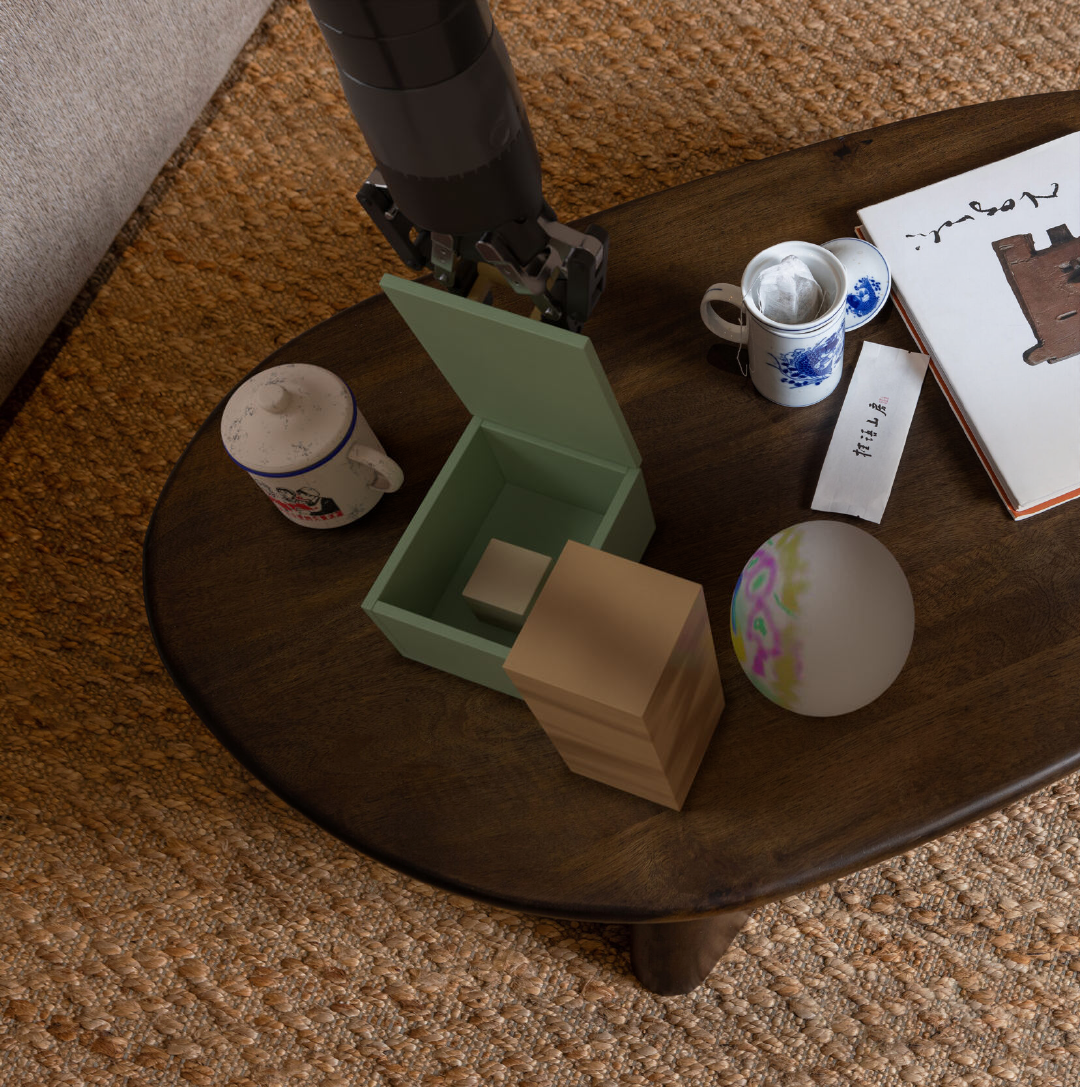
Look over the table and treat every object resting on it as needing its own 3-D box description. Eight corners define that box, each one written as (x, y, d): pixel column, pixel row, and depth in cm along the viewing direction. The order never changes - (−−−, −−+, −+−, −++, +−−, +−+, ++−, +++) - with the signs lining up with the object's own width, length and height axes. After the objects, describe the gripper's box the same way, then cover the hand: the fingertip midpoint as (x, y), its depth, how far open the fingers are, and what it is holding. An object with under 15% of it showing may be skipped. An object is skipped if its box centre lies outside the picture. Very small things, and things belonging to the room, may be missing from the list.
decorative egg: (738, 573, 86) (726, 470, 73) (905, 575, 87) (923, 473, 73) (731, 735, 81) (716, 656, 67) (909, 737, 81) (929, 658, 68)
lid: (583, 349, 64) (623, 268, 66) (378, 283, 66) (421, 206, 67) (638, 469, 80) (669, 402, 81) (470, 414, 81) (504, 349, 83)
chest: (565, 715, 81) (538, 671, 73) (402, 656, 83) (359, 606, 75) (656, 527, 88) (641, 468, 80) (504, 476, 90) (474, 412, 82)
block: (537, 641, 83) (522, 615, 79) (478, 620, 83) (460, 594, 79) (565, 585, 85) (552, 557, 81) (507, 565, 85) (491, 537, 81)
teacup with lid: (247, 511, 88) (172, 427, 77) (312, 414, 92) (249, 322, 81) (390, 562, 86) (333, 484, 76) (450, 462, 90) (403, 374, 80)
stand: (680, 812, 78) (642, 717, 61) (570, 771, 80) (501, 666, 62) (725, 704, 82) (702, 584, 64) (620, 666, 83) (568, 538, 65)
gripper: (615, 95, 56) (658, 313, 71) (347, 18, 58) (446, 246, 73) (545, 211, 53) (606, 412, 68) (264, 126, 55) (386, 340, 70)
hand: (523, 325), depth 70 cm, fingers closed on lid, 5 cm apart
